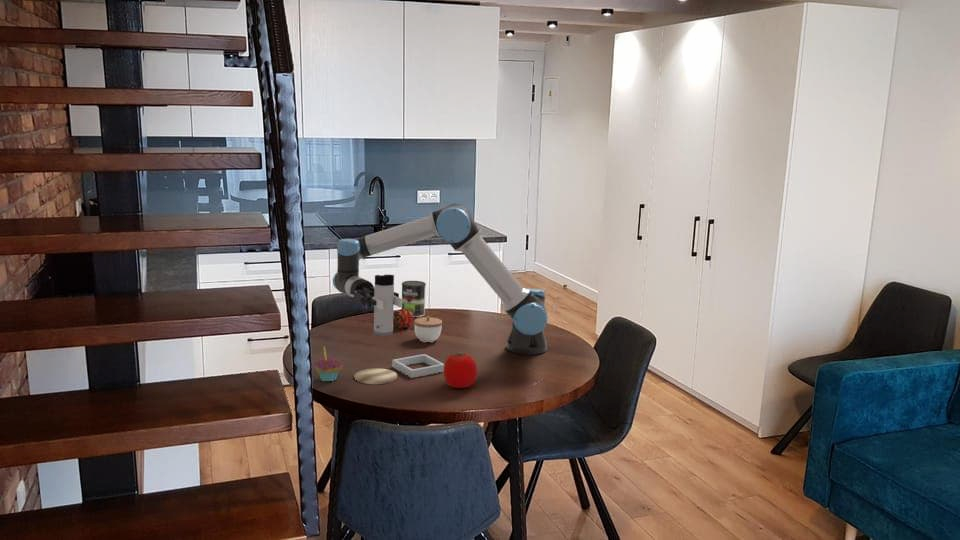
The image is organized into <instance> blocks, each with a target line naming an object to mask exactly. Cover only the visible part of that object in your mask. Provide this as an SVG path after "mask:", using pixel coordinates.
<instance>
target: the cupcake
mask: <svg viewBox="0 0 960 540" xmlns="http://www.w3.org/2000/svg"><path fill="white" fill-rule="evenodd" d="M326 349H327V348H326V346H325V345H324V344H323V355H324V356H323V357H322V358H321V359H319V360H317V361H316V362H315V364H314V365H315V367H314V368H315V369H314V371H316V372H318V374H319V377H320V380H321V381H322V382H324V381H332V382H335V381H336V380H337V377H338V374H339V372H340V371H341V370H342V369H343V365H342V362H341V360H339V359H337V358H336V357H333V356H331V357H327V350H326ZM334 380H335V381H334Z"/></svg>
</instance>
